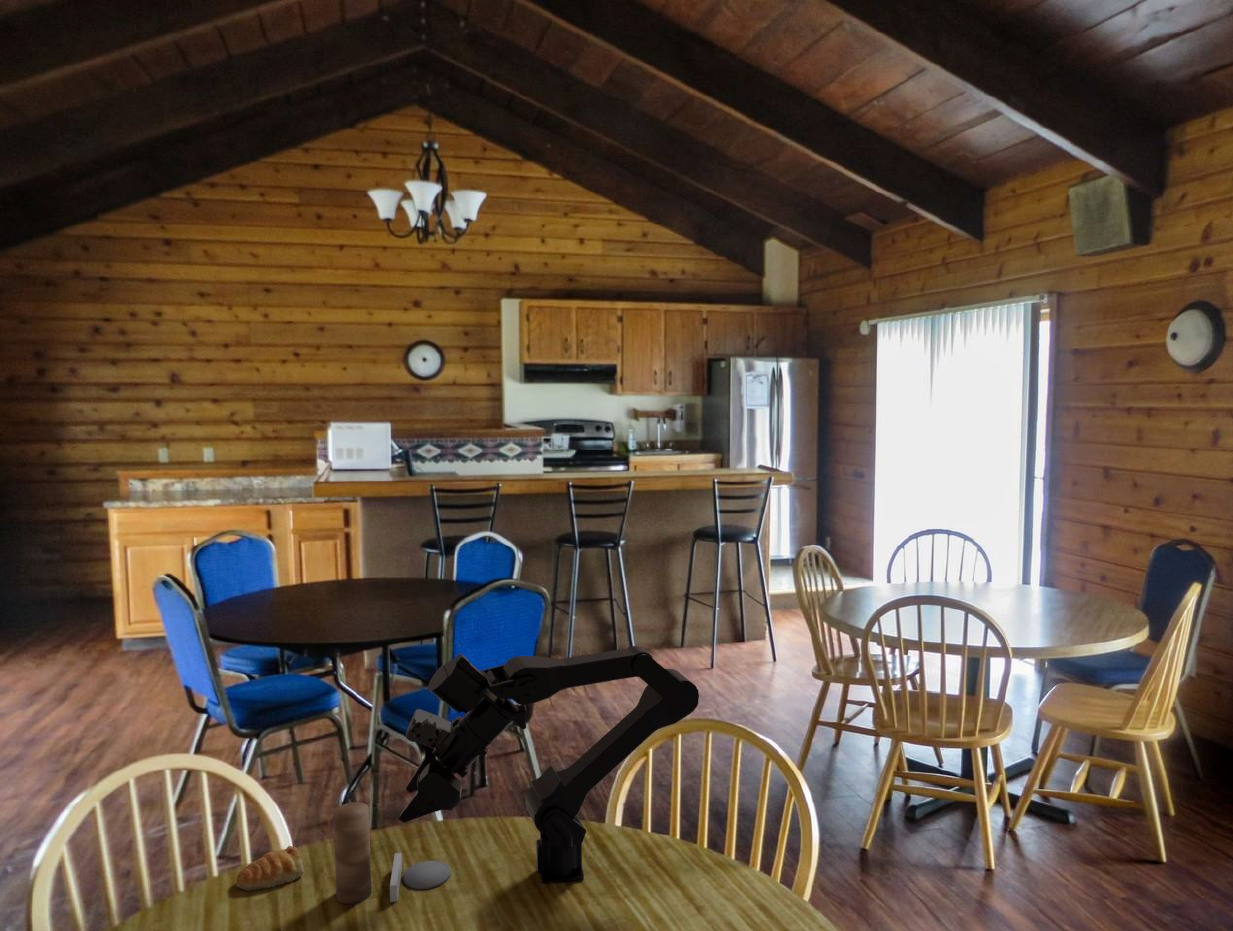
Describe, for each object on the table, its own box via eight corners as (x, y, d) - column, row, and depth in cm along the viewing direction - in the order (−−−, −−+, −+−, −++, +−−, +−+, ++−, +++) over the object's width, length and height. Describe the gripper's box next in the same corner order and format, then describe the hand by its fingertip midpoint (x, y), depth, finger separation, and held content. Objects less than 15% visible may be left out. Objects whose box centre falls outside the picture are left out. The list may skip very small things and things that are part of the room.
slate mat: (450, 861, 140) (450, 858, 140) (449, 886, 133) (449, 883, 133) (405, 865, 139) (405, 862, 139) (402, 891, 132) (401, 887, 132)
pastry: (244, 900, 130) (243, 876, 130) (230, 881, 135) (229, 857, 135) (307, 877, 136) (306, 854, 136) (291, 860, 141) (290, 837, 141)
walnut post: (373, 882, 134) (370, 801, 133) (369, 902, 129) (366, 817, 128) (339, 886, 133) (336, 803, 132) (334, 905, 128) (330, 820, 127)
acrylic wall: (401, 867, 138) (401, 852, 138) (397, 901, 129) (396, 884, 129) (395, 868, 138) (394, 853, 138) (390, 901, 129) (389, 885, 129)
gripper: (442, 673, 139) (373, 744, 139) (433, 717, 121) (353, 800, 120) (493, 718, 141) (425, 789, 141) (492, 769, 122) (413, 851, 122)
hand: (404, 804), depth 131 cm, fingers open, 9 cm apart
